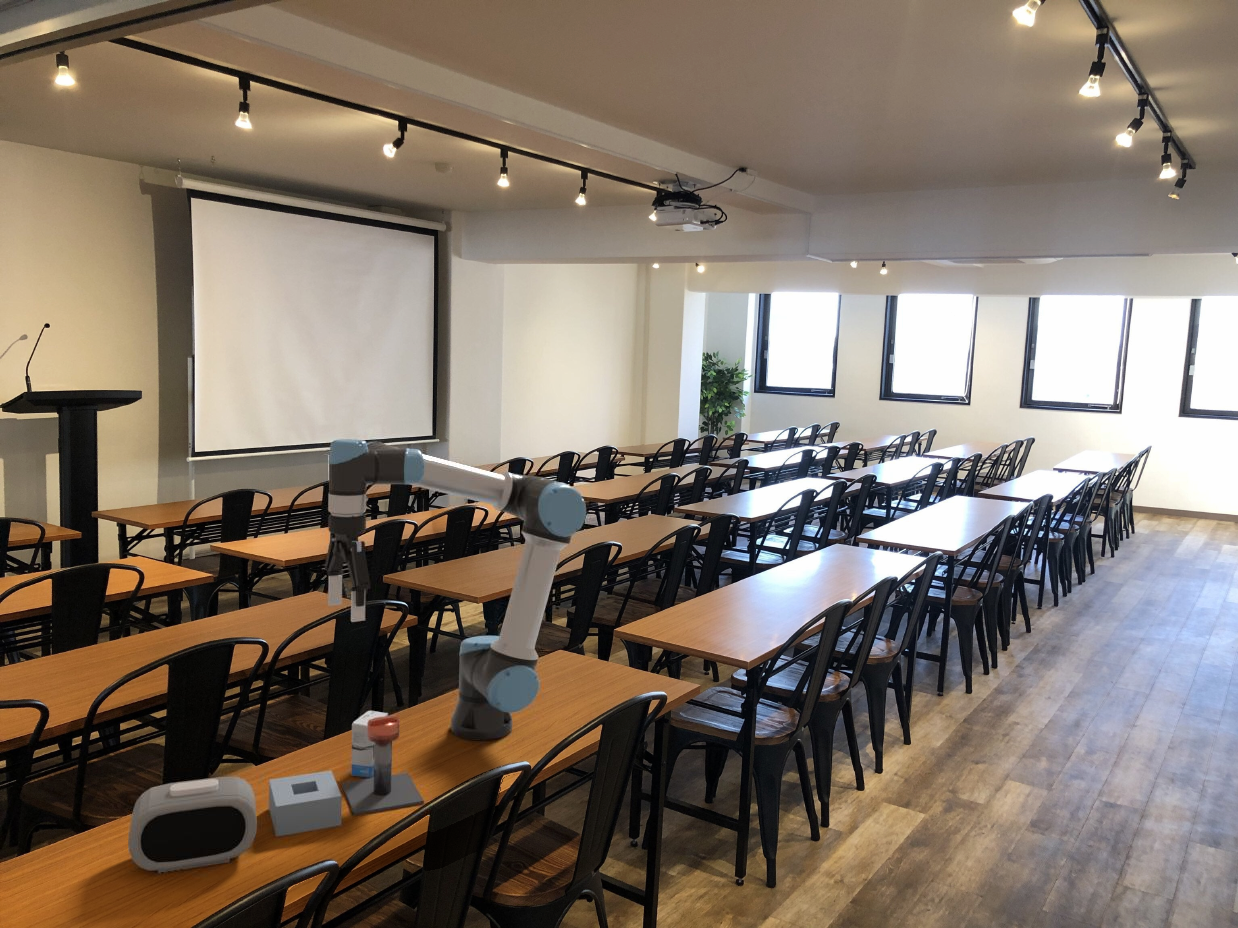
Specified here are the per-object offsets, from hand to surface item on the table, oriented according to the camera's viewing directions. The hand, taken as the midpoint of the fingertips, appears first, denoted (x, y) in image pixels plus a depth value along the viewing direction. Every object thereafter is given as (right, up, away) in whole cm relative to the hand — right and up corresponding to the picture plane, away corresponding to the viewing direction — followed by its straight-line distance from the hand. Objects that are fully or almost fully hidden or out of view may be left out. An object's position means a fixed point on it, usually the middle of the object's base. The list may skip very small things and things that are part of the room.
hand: (346, 612), depth 196 cm
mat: (+8, -38, -2) cm, 39 cm away
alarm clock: (-19, -40, -29) cm, 53 cm away
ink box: (+2, -36, +9) cm, 38 cm away
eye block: (-4, -38, -13) cm, 41 cm away
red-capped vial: (+8, -37, -2) cm, 38 cm away
